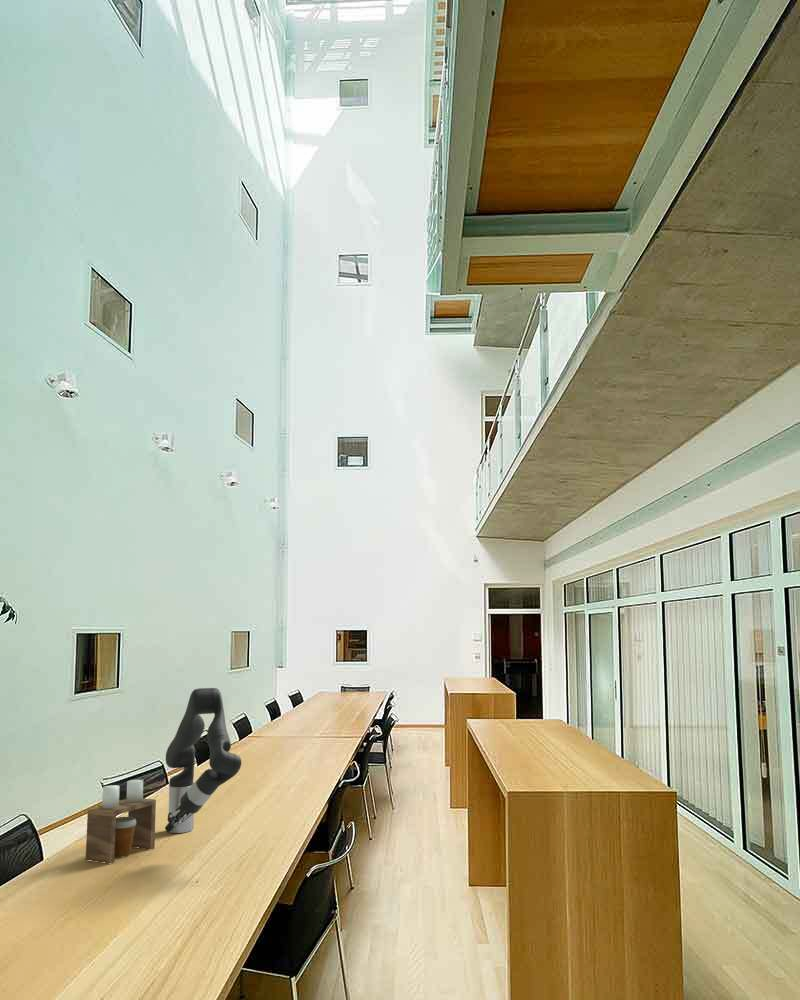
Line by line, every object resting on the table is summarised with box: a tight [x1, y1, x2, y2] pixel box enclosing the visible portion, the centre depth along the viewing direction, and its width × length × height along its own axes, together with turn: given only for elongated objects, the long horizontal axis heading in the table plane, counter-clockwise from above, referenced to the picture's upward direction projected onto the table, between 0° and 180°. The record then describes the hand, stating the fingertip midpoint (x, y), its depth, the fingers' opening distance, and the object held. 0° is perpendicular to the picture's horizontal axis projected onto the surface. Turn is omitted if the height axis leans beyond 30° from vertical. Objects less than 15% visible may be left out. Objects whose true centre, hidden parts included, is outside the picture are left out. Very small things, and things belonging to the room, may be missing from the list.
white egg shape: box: [126, 779, 144, 803], centre depth 303 cm, size 6×6×7 cm
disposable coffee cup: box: [114, 816, 137, 858], centre depth 295 cm, size 10×10×12 cm
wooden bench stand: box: [85, 797, 157, 864], centre depth 296 cm, size 22×11×17 cm, turn 155°
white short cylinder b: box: [101, 784, 121, 809], centre depth 292 cm, size 6×6×7 cm
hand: (167, 829), depth 288 cm, fingers closed
